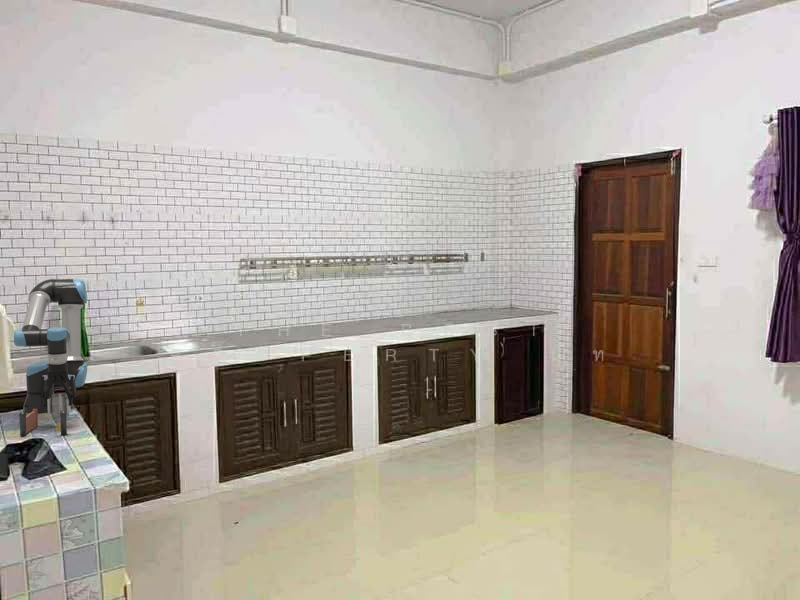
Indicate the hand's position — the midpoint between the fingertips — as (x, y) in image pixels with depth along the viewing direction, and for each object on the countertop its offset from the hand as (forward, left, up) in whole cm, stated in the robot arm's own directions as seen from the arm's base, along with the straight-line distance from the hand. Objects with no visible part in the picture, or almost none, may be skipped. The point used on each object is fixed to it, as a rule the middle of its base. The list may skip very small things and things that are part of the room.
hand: (59, 412), depth 294 cm
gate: (+3, -11, -6) cm, 13 cm away
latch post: (+12, +5, -7) cm, 15 cm away
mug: (0, +1, -2) cm, 3 cm away
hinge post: (+12, -11, -7) cm, 17 cm away
